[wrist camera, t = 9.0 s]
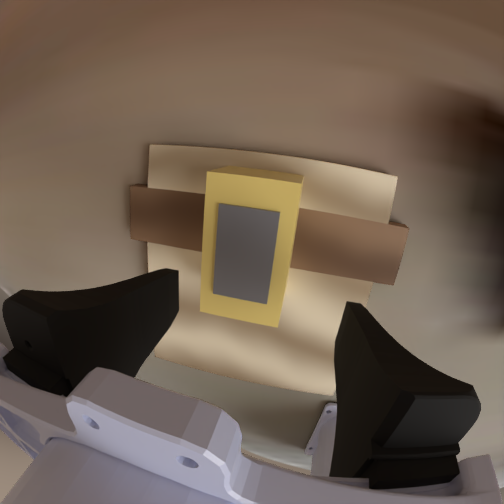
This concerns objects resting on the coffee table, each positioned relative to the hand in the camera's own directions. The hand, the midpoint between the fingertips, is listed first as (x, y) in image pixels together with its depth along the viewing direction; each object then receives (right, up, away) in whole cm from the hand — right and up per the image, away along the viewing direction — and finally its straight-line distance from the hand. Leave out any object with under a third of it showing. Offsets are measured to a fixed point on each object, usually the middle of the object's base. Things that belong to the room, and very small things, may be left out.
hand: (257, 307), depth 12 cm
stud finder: (0, +3, +7) cm, 8 cm away
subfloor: (0, 0, +9) cm, 9 cm away
